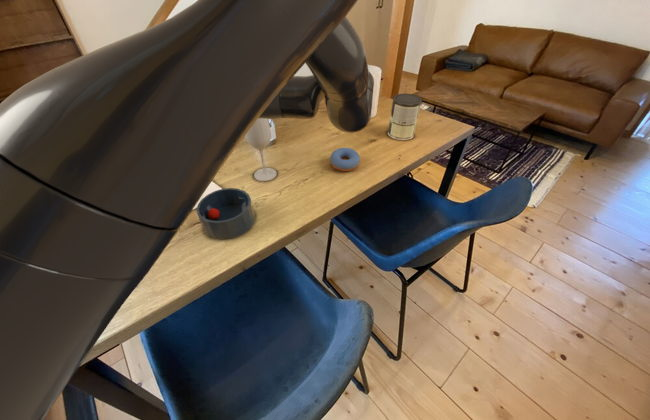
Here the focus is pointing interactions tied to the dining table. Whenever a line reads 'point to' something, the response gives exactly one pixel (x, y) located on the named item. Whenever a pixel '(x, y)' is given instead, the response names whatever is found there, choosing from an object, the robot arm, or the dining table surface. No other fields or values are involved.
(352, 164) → the doughnut
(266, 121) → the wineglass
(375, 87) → the container
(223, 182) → the dining table surface
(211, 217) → the ball
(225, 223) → the bowl
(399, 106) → the coffee can
